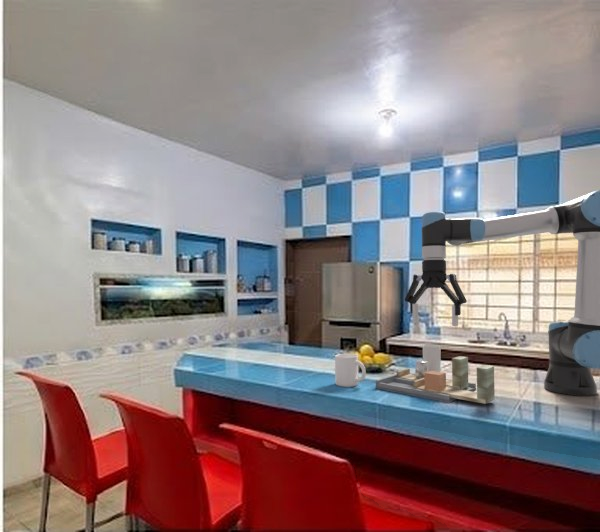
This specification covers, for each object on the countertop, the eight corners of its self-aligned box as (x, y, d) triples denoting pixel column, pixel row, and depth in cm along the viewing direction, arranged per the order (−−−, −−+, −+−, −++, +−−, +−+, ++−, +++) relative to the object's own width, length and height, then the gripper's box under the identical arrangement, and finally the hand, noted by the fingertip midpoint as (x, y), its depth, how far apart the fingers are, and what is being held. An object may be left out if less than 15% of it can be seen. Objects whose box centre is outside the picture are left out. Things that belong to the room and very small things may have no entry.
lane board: (475, 389, 146) (475, 381, 147) (448, 402, 130) (448, 393, 130) (407, 377, 164) (407, 370, 164) (375, 388, 148) (375, 380, 148)
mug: (371, 385, 152) (371, 356, 152) (358, 390, 145) (358, 359, 146) (343, 380, 159) (343, 352, 160) (330, 384, 153) (330, 355, 154)
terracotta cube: (446, 388, 139) (445, 372, 140) (439, 391, 136) (439, 375, 136) (431, 385, 143) (431, 370, 143) (424, 388, 139) (424, 372, 139)
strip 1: (469, 386, 146) (468, 356, 146) (460, 390, 141) (459, 359, 141) (406, 376, 162) (406, 349, 162) (396, 379, 156) (396, 352, 157)
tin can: (430, 378, 154) (430, 361, 154) (424, 380, 151) (424, 363, 151) (419, 376, 157) (418, 360, 157) (413, 378, 154) (413, 361, 154)
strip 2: (495, 398, 130) (494, 365, 131) (486, 404, 125) (486, 369, 125) (423, 386, 146) (423, 356, 146) (412, 390, 141) (412, 359, 141)
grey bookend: (436, 379, 161) (436, 347, 162) (420, 377, 166) (419, 345, 166) (446, 375, 169) (446, 344, 170) (430, 372, 173) (430, 343, 174)
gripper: (476, 258, 135) (477, 326, 134) (405, 261, 152) (405, 321, 151) (467, 257, 130) (468, 327, 129) (394, 260, 147) (395, 322, 146)
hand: (434, 324), depth 140 cm, fingers open, 13 cm apart
